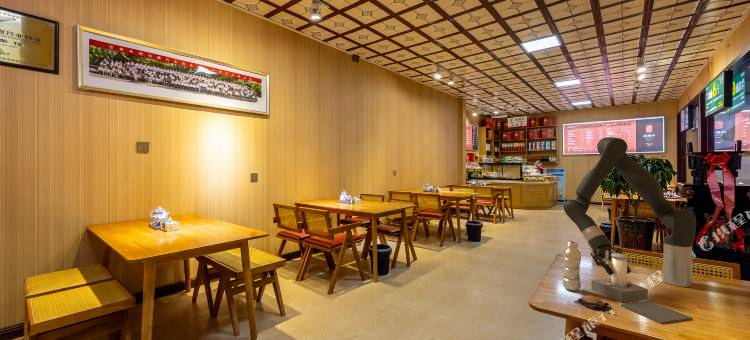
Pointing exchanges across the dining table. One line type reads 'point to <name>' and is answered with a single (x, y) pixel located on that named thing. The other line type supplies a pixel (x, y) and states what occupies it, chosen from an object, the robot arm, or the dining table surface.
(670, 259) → the robot arm
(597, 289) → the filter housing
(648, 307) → the rubber mat
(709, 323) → the dining table surface
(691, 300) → the dining table surface
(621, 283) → the cylinder
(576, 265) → the plastic bottle
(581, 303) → the dark brown curved piece
